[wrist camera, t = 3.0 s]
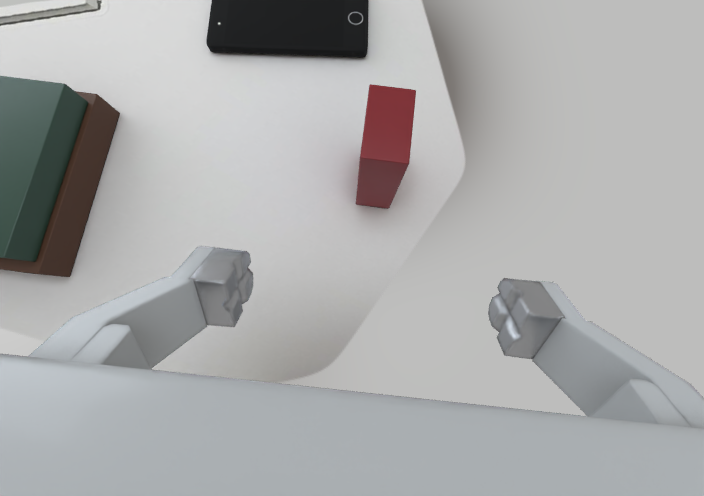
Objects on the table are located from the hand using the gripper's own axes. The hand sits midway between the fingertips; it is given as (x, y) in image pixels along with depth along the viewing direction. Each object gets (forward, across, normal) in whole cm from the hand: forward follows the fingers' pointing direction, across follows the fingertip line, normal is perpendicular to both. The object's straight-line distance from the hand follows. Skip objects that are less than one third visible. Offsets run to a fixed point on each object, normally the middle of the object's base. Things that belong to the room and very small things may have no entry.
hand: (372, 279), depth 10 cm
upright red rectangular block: (+22, -1, +5) cm, 23 cm away
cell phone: (+35, +11, -8) cm, 38 cm away
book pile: (+19, +34, +8) cm, 40 cm away
